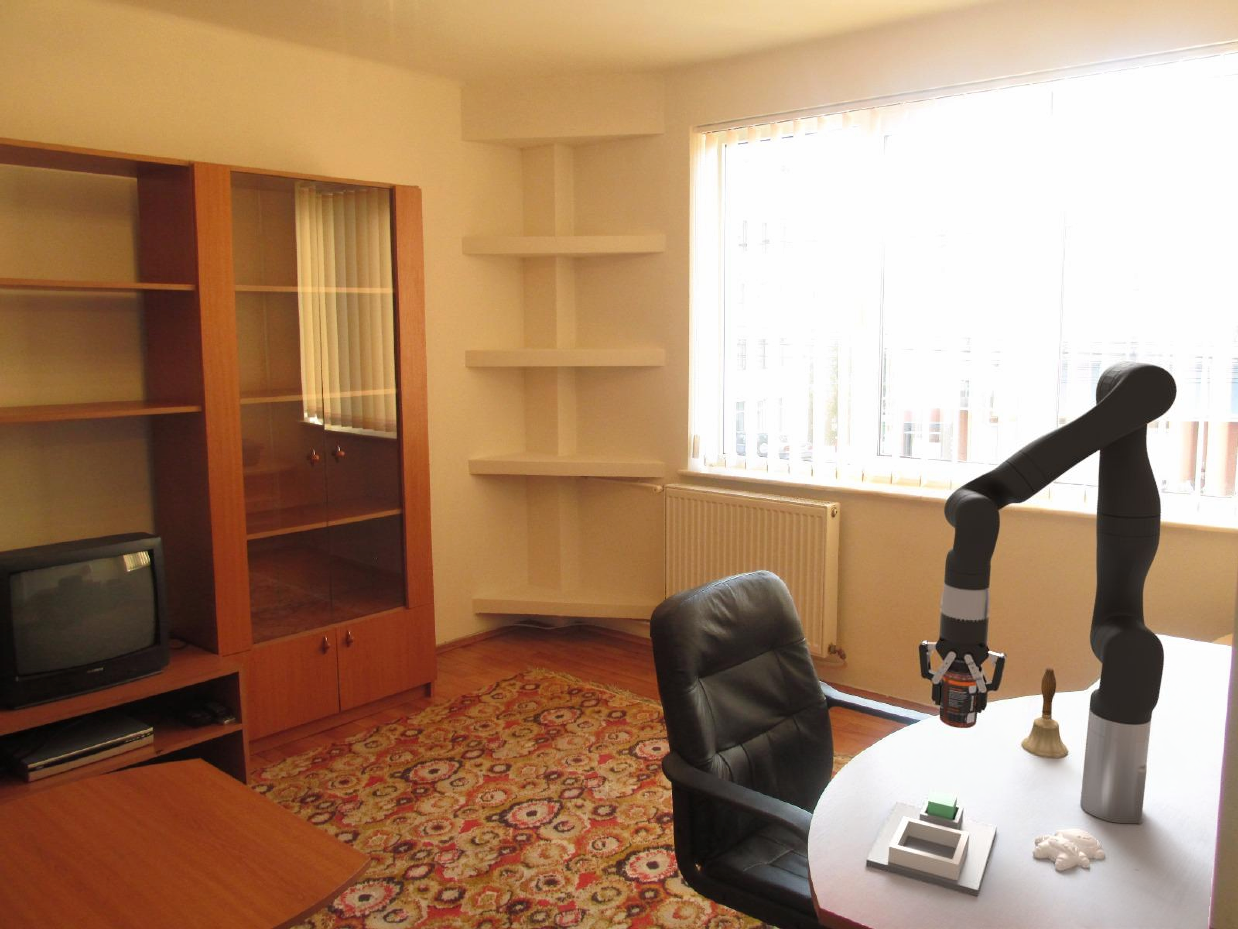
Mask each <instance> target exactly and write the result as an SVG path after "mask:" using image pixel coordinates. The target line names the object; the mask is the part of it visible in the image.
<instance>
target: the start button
mask: <svg viewBox="0 0 1238 929" xmlns="http://www.w3.org/2000/svg"><path fill="white" fill-rule="evenodd" d="M957 802H958V796H956V795H952V794H947V793H944V792H940V791H935V790H932V791H931V794H930V796H929V800H928V812H927V814H930V815H934V816H938V817H942V818H946V819H951V820H954V818H955V815H956V805H957Z"/></svg>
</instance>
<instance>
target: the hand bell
mask: <svg viewBox="0 0 1238 929" xmlns="http://www.w3.org/2000/svg"><path fill="white" fill-rule="evenodd" d="M1040 687H1041V695H1042V698H1043V699H1042V700H1043V701H1042V702H1043V703H1042V710H1041V712H1042V713H1041V717H1037V718H1035V719H1034V720H1033V723H1032V728H1031V730H1030V733H1029V734H1028V736H1027V737H1025V738H1023V740H1022V741H1021V743H1020V745H1021V747H1022V748H1023V749H1024V750H1025V751H1027V752H1028V753H1030V754H1032V755H1034V756H1038V757H1044V758H1051V759H1054V758H1055V759H1058V758H1063V757H1066V756H1067V755H1068V753H1069V749H1068V748H1067V746H1066V744H1064V742H1063V741H1062V738H1061V734H1060V725H1059V722H1058V721H1057V720H1055V719H1053V716H1052V713H1053V712H1052V709H1053V700H1054V697H1055V694H1056V689H1057V680H1056V676H1055V671H1054V669H1053V668H1051V667H1050V668H1049V667H1047V668H1046V669H1045V672H1044V674H1043V675H1042V679H1041V686H1040Z"/></svg>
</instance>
